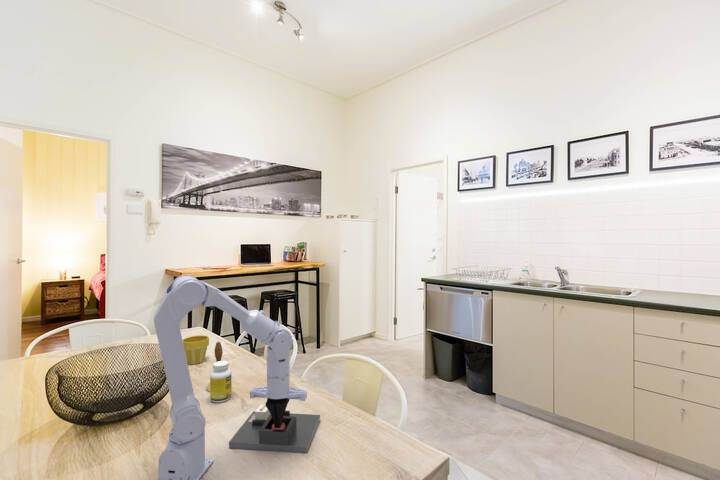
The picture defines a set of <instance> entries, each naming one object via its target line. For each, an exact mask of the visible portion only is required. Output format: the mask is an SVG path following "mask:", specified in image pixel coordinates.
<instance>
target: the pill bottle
mask: <svg viewBox="0 0 720 480" xmlns="http://www.w3.org/2000/svg"><path fill="white" fill-rule="evenodd" d="M212 368H213V371H211V372H210V375H209V377H210V378H209V383H210V392H209V395H210V396H209V397H210V401H211V402H213V403H224V402H227V401H229V400H231V398H232V395H233V393H232V390H233V389H232V387H233V386H232V370H231V369H230V368H229V361H227V360H221V361H218V362H216V361H215V362H214V363H213V364H212Z"/></svg>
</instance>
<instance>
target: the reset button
mask: <svg viewBox="0 0 720 480" xmlns="http://www.w3.org/2000/svg"><path fill="white" fill-rule="evenodd" d="M272 429H276V430H285V423H283V422H282V425H281V427H280V428H275V427H274V424H273V425H272Z"/></svg>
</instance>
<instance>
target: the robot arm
mask: <svg viewBox="0 0 720 480" xmlns="http://www.w3.org/2000/svg"><path fill="white" fill-rule="evenodd" d="M200 305H202V306H203V307H205V308H206V307H216V308H217V309H219V310H221V311H223V312H224V313H226V314H227V315H229V316H231V317H232V318H234V319H236V320H237V321H239V322H240V325H241V330H242V331H243V332H245V333H247V334H248V335H250V336H251V337H253V338H255V339H256V340H257V341H259V342H261V343H263V344H264V345H266V386H265V387H264V386H261V387H252V388H251V390H250V391H249V399H255V398H264V399H266V402H265V403H266V407H267V409H268V410H269V412H270V414H271V416H272V419H273V422H274V427H275V428H280V427H281V425H282V422H283V417H284V413H285V410H286V411H287V407H288V405H289V402H290V400H298V401H299V400H300V401H301V402H306V400H307V398H308V393H307V392H308V390H307V389H301V388H295V387H292V386H291V385H290V383H291V381H290V380H291V379H290V374H291V373H290V372H291V370H290V368H291V367H290V363H291V362H290V350H291V348H292V347H293V344H294V338H293V336H292V333H291V332H290V331H288V329H286V328H284V327H282V326H281V323H280V322H279V321H277V320H273V319H271V318H270V317H268V316H267V312H266V311H264V310H262V309H261V310H258V309H253V310H248V309H247V308H246V307H244V306H242V304H240V303H238V302H237V301H236V300H234V299H232V298H231V297H230V296H228V294H226V293H224V292H223V291H222V290H220V289H219V288H217V287H215V286H213V285H212V284H209V283H207V282H205V281H202V280H199V279H197V277H195V276H193V275H191V274H190V275H189V274H182V275H180V276H178V277H176V278H175V279H174V280H173V281H171V283H170V284H169V285H168V286H166V288H165V291H164V294H163V296H162V298H161V301H160V303H159V305H158V306H157V309H156V311H155V313H154V316H153V323H154V328H155V334H156V336H157V337H156V338H157V343H158V346H159V350H160V356H161V359H162V364H163V370H164V374H165V378H166V381H167V386H168V390H169V395H170V400H171V406H170V409H169V418H170V419H171V424H172V427H171V429H170V432H169V433H168V440H167V444H166V447H165V449H164V450H163V451H162V452H161V454H160V456H159V457H158V480H201V478H202V476H204V474H205V473H206V471H207V470H209V467H210V466H211V465H212V464H213V463H214V460H213V459H206V435H205V434H206V430H205V429H206V417H205V415H204V413H203V411H202V410H201V409H202V408H201V404H200V402H199V400H198V399H197V398H196V396H195V393H194V388H193V384H192V383H193V382H192V378H191V373H190V370H189V364H188V363H187V359H186V355H185V350H184V345H183V341H182V340H183V337H182V332H181V328H180V323H181V322H182V321H183V319H184V318H185V317H186V316H187V315H188V313H190V312H192V311H193V310H194V309H196V308H198V307H199V306H200Z"/></svg>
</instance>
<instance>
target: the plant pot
mask: <svg viewBox="0 0 720 480" xmlns="http://www.w3.org/2000/svg"><path fill="white" fill-rule="evenodd" d="M182 341H183V345H184V350H185V355H186V359H187V364H188V365H197V364H198V365H199V364H201V363H204V362H205V360H206V355H207V350H208V347H209V345H210V336H208V335H202V334H201V335H191V336H188V337H184V338H182Z"/></svg>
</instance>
